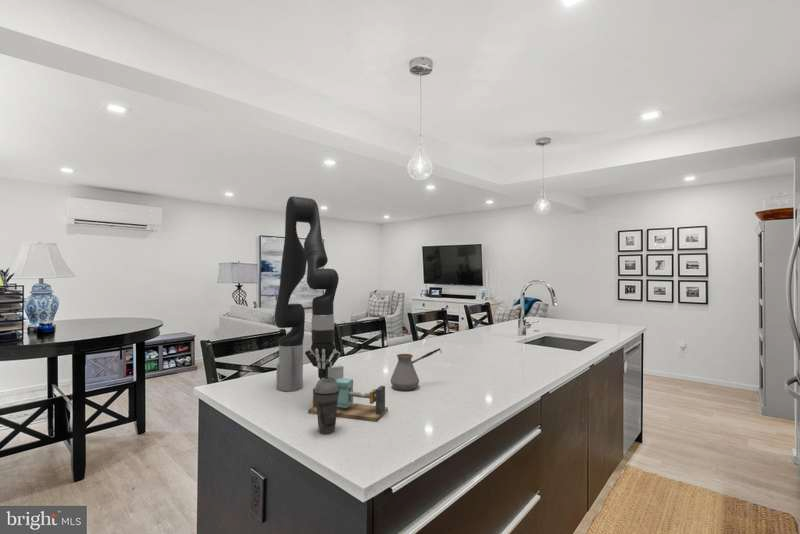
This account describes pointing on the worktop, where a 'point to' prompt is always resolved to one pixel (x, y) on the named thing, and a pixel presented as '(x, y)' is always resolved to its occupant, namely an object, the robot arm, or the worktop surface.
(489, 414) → the worktop surface
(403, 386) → the coffee pot
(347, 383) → the sleeve
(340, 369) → the skincare box
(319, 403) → the beverage cup
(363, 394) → the rail stand
